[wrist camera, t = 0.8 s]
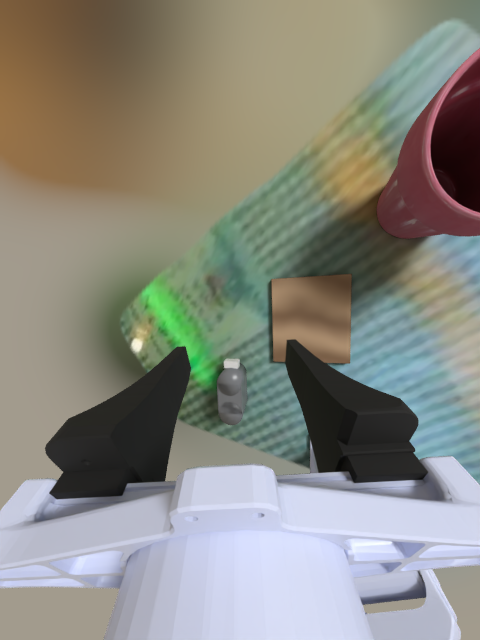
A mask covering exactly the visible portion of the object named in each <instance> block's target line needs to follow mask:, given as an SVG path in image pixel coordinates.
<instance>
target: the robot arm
mask: <svg viewBox="0 0 480 640" xmlns="http://www.w3.org/2000/svg"><path fill="white" fill-rule="evenodd" d="M285 363H286V368H287V371H288V375H289V378H290V380H291V383H292V385H293V388H294V390H295V393H296V395H297V398H298V400H299V403H300V405H301V408H302V411H303V415H304V418H305V422H306V425H307V429H308V433H309V436H310V473H309V474H293V475H292V474H291V475H275V473H274V471H273V470H272V469H271V468H269V467H267V466H265V465H261V464H235V465H217V466H200V467H193V468H188V469H186V470H185V471H183V472H182V473H180V474H179V475H178V477H177V481H165V478H166V471H167V464H168V459H169V453H170V448H171V443H172V438H173V433H174V428H175V424H176V420H177V416H178V412H179V409H180V406H181V403H182V400H183V397H184V394H185V391H186V388H187V385H188V381H189V377H190V371H191V367H190V363H189V359H188V355H187V351H186V347H185V346H184V347H176V348H175V349H174V350H173V351H172V352H171V353H170V354H169V355H168V356H167V357H165V358H164V359H163V360H162V361H161V362H160V363H159V364H158V365H157V366H156V367H154V368H153V369H152V370H151V371H150V372H148V373H147V374H146V375H145V376H144V377H142V378H141V379H139V380H138V381H137V382H135V383H134V384H132V385H131V386H130V387H128V388H126V389H125V390H123V391H122V392H120V393H118V394H117V395H115V396H113V397H112V398H110V399H108V400H107V401H105V402H103V403H101V404H99V405H97V406H95V407H93V408H91V409H89V410H87V411H85V412H82V413H80V414H78V415H76V416H74V417H71V418H69V419H68V420H67V421H66V422H65V423H64V425H63V426H62V427H61V428H60V429H59V430H58V432H57V433H56V434H55V435H54V437H52V439H51V440H50V441H49V442H48V443H47V445H46V447H45V450H46V454H47V456H48V457H49V458H50V459H51V460H52V461H53V462H54V463H55V464H56V465H57V466H58V467H59V468H60V469H61V470H62V471H63V474H62V475H61V477H60V478H59V480H56V479H51V478H46V479H28V480H26V481H24V483H23V484H22V485H21V486H20V488H19V489H18V490H17V491H16V493H15V494H14V495H13V496H12V497H11V499H10V500H9V501H8V502H7V503H6V505H5V506H4V507H3V508H2V509H1V511H0V588H17V587H79V588H119V593H118V596H117V599H116V602H115V605H114V608H113V611H112V614H111V617H110V621H109V624H108V627H107V630H106V633H105V636H104V640H460V639H461V631H460V629H459V627H458V625H457V623H456V622H457V616H456V615H455V613H454V611H453V609H452V607H451V605H450V604H449V602H448V600H447V598H446V597H445V595H444V593H443V591H442V589H441V585H440V583H439V581H438V579H437V578H436V576H435V574H434V572H433V570H432V569H437V568H449V567H460V566H476V565H480V485H479V484H478V483H477V482H476V481H475V480H474V478H473V477H472V476H471V475H470V474H469V473H468V472H467V471H466V470H465V469H464V468H463V467H462V466H461V465H460V463H459V462H458V461H457V460H456V459H455V458H454V457H452V456H439V457H426V458H423V459H420V460H418V458H417V457H416V456H415V454H414V453H413V452H415V448H414V447H413V446H412V444H411V443H410V442H409V440H410V439H411V437H412V435H413V434H414V432H415V431H416V429H417V426H418V418H417V416H416V415H415V414H414V413H413V412H412V411H411V409H410V408H409V407H408V406H407V405H406V404H405V403H404V402H403V401H402V400H401V399H400V398H397V397H394V396H391V395H389V394H386V393H383V392H380V391H378V390H375V389H373V388H371V387H368V386H366V385H364V384H361V383H359V382H357V381H355V380H353V379H351V378H349V377H347V376H345V375H344V374H342V373H340V372H338V371H337V370H335V369H333V368H332V367H330V366H329V365H327V364H326V363H324V362H323V361H321V360H320V359H319V358H317V357H316V356H315V355H314V354H312V353H311V352H310V351H309V350H307V349H306V348H305V347H304V346H303V345H302V344H300V343H299V342H298V341H297V340H296V339H291V340H287V343H286V358H285ZM419 572H420V573H419ZM420 574H421V575H420ZM425 597H426V600H425V603H424V605H423V606H422V607H419V608H417V609H411V610H403V611H392V612H382V613H373V614H367V613H365V612H364V609H363V605H365V604H373V603H382V602H391V601H399V600H408V599H417V598H425Z"/></svg>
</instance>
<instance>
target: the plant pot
mask: <svg viewBox="0 0 480 640" xmlns="http://www.w3.org/2000/svg"><path fill="white" fill-rule="evenodd" d="M377 217H378V221H379V223H380V225H381V226H382V228H383V229H384V230H385V231H386V232H387V233H389V234H391V235H393V236H395V237H399V238H405V239H409V238H417V237H425V236H432V235H440V234H448V235H454V236H479V235H480V48H479V49H478V50H477V51H476V52H474V53H473V54H472V55H471V56H470V57H469V58H468V59H467V60H466V61H465V62H464V63H463V64H462V65H461V66H460V67H459V68H458V69H457V70H456V71H455V72H454V73H453V75H452V76H451V77H450V78H449V79H448V80H447V82H446V83H445V84H444V85H443V86H442V88H441V89H440V90H439V91H438V92H437V94H436V95H435V96H434V97H433V99H432V100H431V101H430V102H429V104H428V105H427V106H426V107H425V109H424V110H423V111H422V113H421V114H420V115H419V116H418V118H417V119H416V121H415V122H414V124H413V125H412V127H411V128H410V130H409V132H408V134H407V136H406V138H405V140H404V142H403V145H402V148H401V151H400V154H399V158H398V165H397V167H396V169H395V170H394V172H393V174H392V176H391V177H390V179H389V181H388V183H387V185H386V187H385V188H384V190H383V192H382V193H381V195H380V198H379V200H378V204H377Z"/></svg>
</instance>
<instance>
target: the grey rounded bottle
mask: <svg viewBox="0 0 480 640" xmlns="http://www.w3.org/2000/svg"><path fill="white" fill-rule="evenodd" d="M224 368H225V369H224V370H223V372H222V373H221V374H220V376H219V377H218V379H217V394H218V412H219V417H220V418H221V420H222V421H223V422H224V423H226V424H228V425H236V424H238V423H239V422H240V421H241V419H242V416H243V413H244V410H245V406H246V403H247V375H246V369H245V367H244V366H243V365H242V364H241V363H240V360H239V359H225V361H224Z"/></svg>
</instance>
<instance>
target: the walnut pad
mask: <svg viewBox="0 0 480 640" xmlns="http://www.w3.org/2000/svg"><path fill="white" fill-rule="evenodd" d="M351 279H352V274H343V275H328V276H312V277H297V278H282V279H272V318H273V360H274V361H275V362H285V358H286V343H287V340H291V339H296V340H297V341H298V342H299V343H300V344H302V345H303V346H304V347H305V348H306V349H307V350H309V351H310V352H311V353H312V354H314V355H315V356H316V357H317V358H319V359H320V360H321V361H323V362H324V363H350V335H351Z"/></svg>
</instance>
